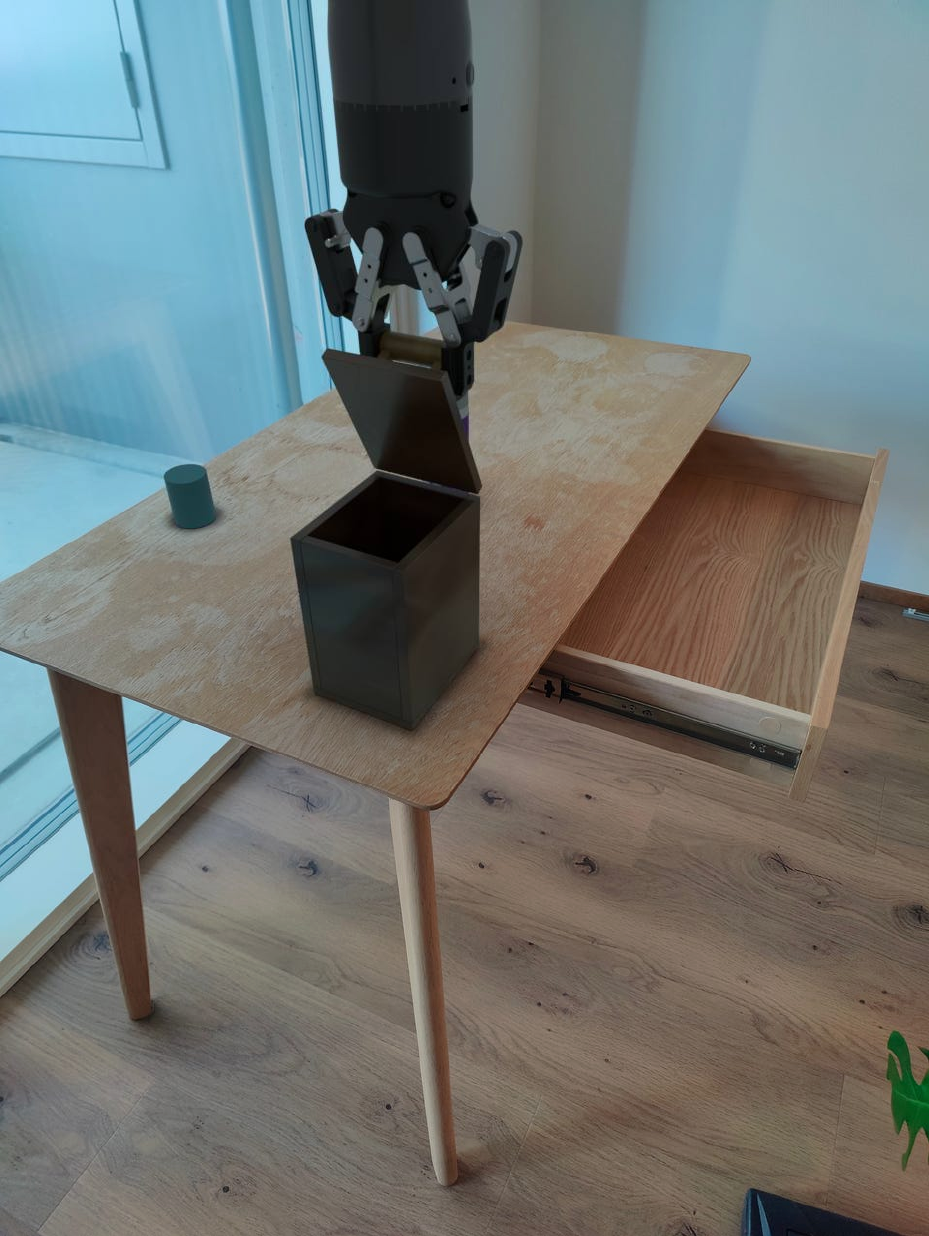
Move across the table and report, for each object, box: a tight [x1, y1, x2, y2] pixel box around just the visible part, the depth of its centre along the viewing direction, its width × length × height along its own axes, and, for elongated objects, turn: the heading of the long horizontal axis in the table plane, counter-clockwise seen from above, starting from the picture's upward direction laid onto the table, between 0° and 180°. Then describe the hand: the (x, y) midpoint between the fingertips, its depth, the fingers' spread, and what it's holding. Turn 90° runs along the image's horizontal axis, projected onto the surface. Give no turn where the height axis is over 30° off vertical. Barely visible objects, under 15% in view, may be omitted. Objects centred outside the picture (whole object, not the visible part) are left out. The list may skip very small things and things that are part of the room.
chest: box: [289, 469, 481, 732], centre depth 61 cm, size 11×9×14 cm
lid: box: [321, 330, 483, 495], centre depth 56 cm, size 11×9×5 cm
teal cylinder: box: [163, 463, 217, 530], centre depth 82 cm, size 4×4×5 cm
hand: (417, 389), depth 55 cm, fingers closed on lid, 5 cm apart
